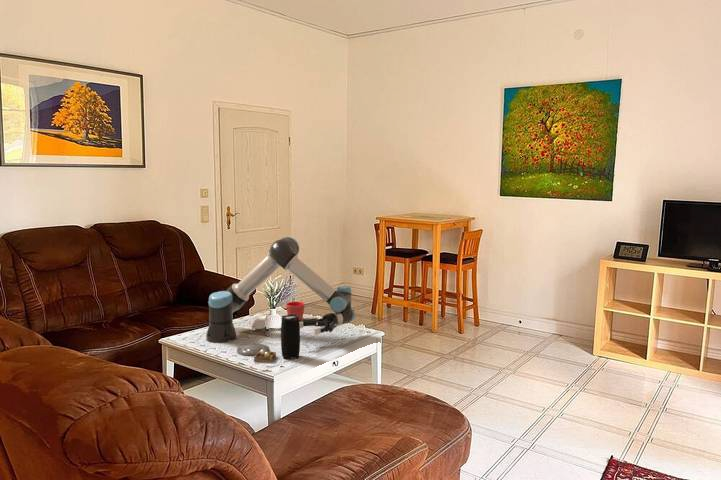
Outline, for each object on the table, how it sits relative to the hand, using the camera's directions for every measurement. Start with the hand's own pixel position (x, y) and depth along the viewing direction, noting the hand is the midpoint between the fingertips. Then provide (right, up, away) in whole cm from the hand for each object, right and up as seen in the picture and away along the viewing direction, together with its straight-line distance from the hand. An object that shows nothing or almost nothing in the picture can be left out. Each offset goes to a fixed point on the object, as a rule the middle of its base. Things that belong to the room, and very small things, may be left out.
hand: (304, 329), depth 262 cm
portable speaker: (-6, -12, -6) cm, 15 cm away
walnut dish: (-17, -12, -9) cm, 23 cm away
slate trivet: (-25, -11, +3) cm, 27 cm away
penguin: (-26, -6, +40) cm, 48 cm away
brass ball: (-16, -10, -11) cm, 22 cm away
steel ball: (-18, -9, -8) cm, 22 cm away
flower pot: (-11, -4, +59) cm, 60 cm away
